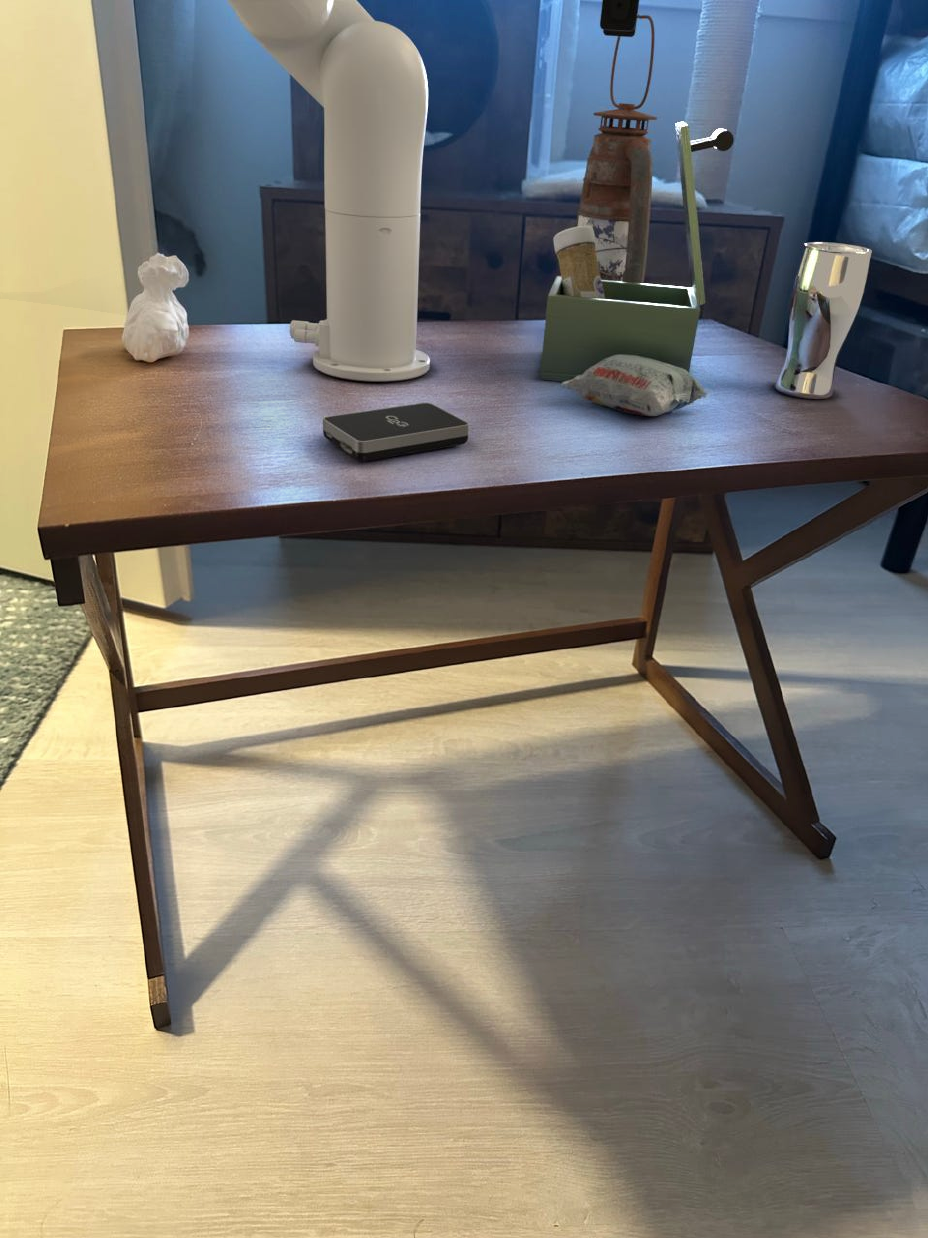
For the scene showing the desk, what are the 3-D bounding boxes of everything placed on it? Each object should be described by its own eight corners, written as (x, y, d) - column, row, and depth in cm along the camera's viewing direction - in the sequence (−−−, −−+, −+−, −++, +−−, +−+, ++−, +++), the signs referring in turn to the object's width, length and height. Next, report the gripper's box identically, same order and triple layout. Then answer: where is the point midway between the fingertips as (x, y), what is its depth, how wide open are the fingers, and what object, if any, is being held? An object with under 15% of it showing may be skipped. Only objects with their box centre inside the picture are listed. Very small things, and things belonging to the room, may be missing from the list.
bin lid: (680, 126, 87) (735, 113, 85) (675, 123, 97) (724, 111, 96) (697, 305, 94) (748, 295, 93) (691, 284, 104) (736, 275, 103)
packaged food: (660, 433, 86) (669, 380, 84) (557, 403, 93) (563, 353, 90) (704, 416, 92) (714, 366, 90) (605, 389, 99) (611, 342, 96)
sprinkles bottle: (611, 346, 101) (588, 220, 100) (570, 356, 103) (548, 233, 101) (618, 350, 105) (596, 229, 104) (579, 360, 107) (557, 241, 106)
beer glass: (846, 393, 103) (885, 249, 95) (819, 404, 98) (857, 254, 91) (788, 378, 107) (820, 239, 99) (759, 389, 102) (791, 244, 94)
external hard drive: (320, 440, 80) (320, 417, 78) (429, 423, 85) (430, 401, 84) (359, 466, 75) (359, 442, 74) (471, 446, 80) (473, 424, 79)
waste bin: (539, 379, 100) (548, 295, 96) (548, 352, 111) (556, 275, 106) (685, 394, 99) (700, 309, 94) (680, 365, 109) (694, 287, 104)
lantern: (588, 352, 112) (632, 6, 94) (532, 321, 125) (561, 12, 107) (666, 349, 115) (722, 16, 98) (603, 319, 128) (643, 20, 111)
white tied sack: (173, 389, 96) (233, 299, 95) (106, 348, 92) (168, 251, 90) (153, 360, 106) (208, 277, 104) (92, 320, 101) (148, 232, 99)
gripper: (605, -177, 88) (583, 35, 97) (599, -232, 73) (573, 24, 82) (684, -174, 87) (655, 40, 96) (694, -229, 72) (659, 30, 81)
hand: (617, 32), depth 89 cm, fingers open, 9 cm apart
